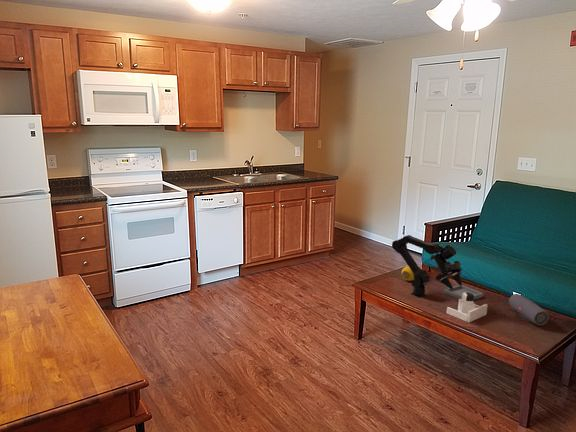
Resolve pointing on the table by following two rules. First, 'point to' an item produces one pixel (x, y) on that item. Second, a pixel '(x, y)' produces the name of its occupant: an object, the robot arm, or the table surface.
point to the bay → (469, 313)
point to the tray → (459, 290)
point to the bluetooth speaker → (528, 309)
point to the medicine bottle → (466, 303)
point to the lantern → (408, 273)
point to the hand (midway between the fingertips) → (456, 287)
